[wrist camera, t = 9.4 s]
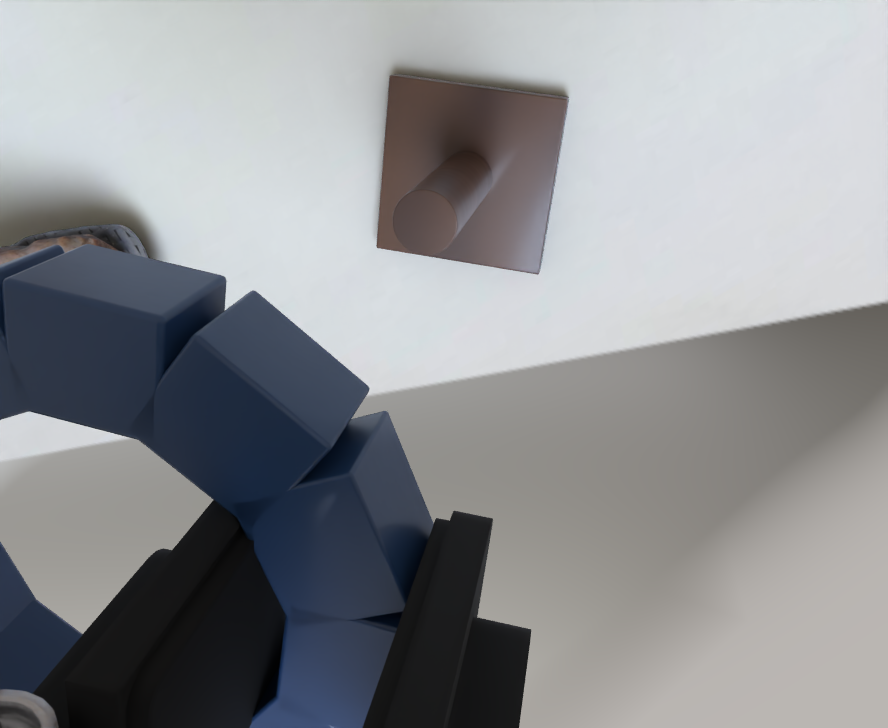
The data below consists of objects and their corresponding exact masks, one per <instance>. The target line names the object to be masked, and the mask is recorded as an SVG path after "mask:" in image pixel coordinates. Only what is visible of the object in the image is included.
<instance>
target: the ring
mask: <svg viewBox="0 0 888 728" xmlns="http://www.w3.org/2000/svg"><path fill="white" fill-rule="evenodd" d="M225 294H226V278H225V277H224V276H222V275H217V274H213V273H209V272H205V271H201V270H196V269H192V268H188V267H184V266H180V265H175V264H171V263H167V262H163V261H158V260H154V259H150V258H146V257H142V256H137V255H133V254H129V253H125V252H121V251H116V250H112V249H108V248H104V247H99V246H95V245H91V244H85V245H82V246H80V247H78V248H75V249H73V250H71V251H68V252H66V253H65V251H64V249H63V248H62V247H61V246H60V245H52V246H50V247H47V248H44V249H41V250H39V251H36V252H33V253H31V254H28V255H25V256H22V257H20V258H17V259H14V260H12V261H9V262H6V263H3V264H1V265H0V420H1V419H4V418H8V417H11V416H14V415H18V414H21V413H25V412H28V411H30V412H34V413H38V414H42V415H46V416H50V417H53V418H57V419H61V420H65V421H69V422H72V423H76V424H80V425H84V426H88V427H92V428H95V429H99V430H103V431H107V432H111V433H114V434H118V435H122V436H126V437H130V438H134V439H137V440H139V441H141V442H142V443H143V444H144V445H146V446H147V447H148V448H150V449H151V450H152V451H153V452H154V453H156V454H157V455H158V456H160V457H161V458H162V459H164V460H165V461H166V462H167V463H168V464H170V465H171V466H172V467H173V468H175V469H176V470H177V471H178V472H180V473H181V474H182V475H184V476H185V477H186V478H187V479H188V480H190V481H191V482H192V483H194V484H195V485H196V486H197V487H198V488H200V489H201V490H202V491H203V492H205V493H206V494H207V495H208V496H210V497H211V498H212V499H213V500H215V501H216V502H217V503H218V504H220V505H221V506H222V507H223V508H225V509H226V510H227V511H229V512H230V513H231V514H232V515H234V516H235V517H236V518H237V519H238V521H239V523H240V525H241V527H242V529H243V531H244V533H245V535H246V537H247V539H249V540H253V541H254V553H255V555H256V557H257V559H258V561H259V563H260V565H261V567H262V569H263V571H264V573H265V575H266V577H267V579H268V581H269V583H270V585H271V587H272V589H273V591H274V593H275V595H276V597H277V599H278V601H279V603H280V605H281V607H282V609H283V611H284V613H285V623H284V632H283V641H282V649H281V658H280V664H279V665H278V667H277V669H276V671H275V673H274V675H273V677H272V679H271V681H270V683H269V685H268V687H267V689H266V691H265V693H264V695H263V697H262V699H261V701H260V703H259V705H258V706H257V708H256V710H255V712H254V714H253V717H252V723H251V725H250V727H249V728H363V725H364V722H365V719H366V716H367V713H368V710H369V707H370V705H371V702H372V699H373V696H374V693H375V690H376V687H377V685H378V682H379V679H380V676H381V673H382V670H383V667H384V665H385V662H386V659H387V656H388V653H389V650H390V647H391V645H392V642H393V639H394V636H395V633H396V630H397V628H398V625H399V622H400V619H401V616H402V613H403V610H404V608H405V605H406V602H407V599H408V596H409V593H410V590H411V588H412V585H413V582H414V579H415V576H416V573H417V570H418V568H419V565H420V562H421V559H422V556H423V553H424V551H425V548H426V545H427V542H428V539H429V536H430V533H431V531H432V528H433V525H434V524H433V521H432V519H431V516H430V514H429V511H428V509H427V507H426V504H425V502H424V499H423V497H422V494H421V492H420V490H419V487H418V485H417V482H416V480H415V477H414V475H413V472H412V470H411V468H410V465H409V463H408V460H407V458H406V455H405V453H404V450H403V448H402V446H401V443H400V441H399V438H398V436H397V433H396V431H395V428H394V426H393V424H392V421H391V419H390V416H389V414H388V412H387V411H382V412H378V413H374V414H370V415H366V416H362V417H358V418H354V419H351V418H352V417H353V415H354V414H355V412H356V410H357V409H358V407H359V406H360V404H361V403H362V401H363V400H364V398H365V397H366V395H367V394H368V392H369V387H368V386H367V385H366V384H365V383H364V382H363V381H361V380H360V379H359V378H358V377H357V376H356V375H354V374H353V373H352V372H351V371H350V370H348V369H347V368H346V367H345V366H344V365H343V364H341V363H340V362H339V361H338V360H337V359H335V358H334V357H333V356H332V355H331V354H330V353H328V352H327V351H326V350H325V349H324V348H322V347H321V346H320V345H319V344H318V343H317V342H315V341H314V340H313V339H312V338H311V337H309V336H308V335H307V334H306V333H305V332H303V331H302V330H301V329H300V328H299V327H298V326H296V325H295V324H294V323H293V322H292V321H290V320H289V319H288V318H287V317H286V316H285V315H283V314H282V313H281V312H280V311H279V310H277V309H276V308H275V307H274V306H273V305H272V304H270V303H269V302H268V301H267V300H266V299H264V298H263V297H262V296H261V295H260V294H259V293H257V292H256V291H251V292H249V293H248V294H246V295H245V296H244V297H242V298H241V299H240V300H238V301H237V302H236V303H234V304H233V305H232V306H231V307H229V308H228V309H227V310H225ZM224 310H225V311H224ZM82 635H83V634H81V633H80V632H79V631H78V630H76V629H75V628H74V627H72V626H71V625H70V624H68V623H67V622H66V621H64V620H63V619H62V618H60V617H59V616H57V615H56V614H55V613H54V612H52V611H51V610H49V609H48V608H47V607H46V606H44V605H43V604H42V603H40V602H39V601H38V600H36V598H35V597H34V595H33V594H32V592H31V590H30V589H29V587H28V586H27V584H26V582H25V581H24V579H23V577H22V576H21V574H20V573H19V571H18V570H17V568H16V566H15V565H14V563H13V561H12V560H11V558H10V557H9V555H8V553H7V552H6V550H5V548H4V547H3V545H2V544H1V542H0V690H1V689H9V690H20V691H27V692H29V693H31V694H32V693H33V692H34V691H35V690H36V688H37V687H38V686H39V685H40V684H41V683H42V681H43V680H44V679H45V678H46V677H47V676H48V674H49V673H50V672H51V671H52V670H53V669H54V667H55V666H56V665H57V664H58V663H59V662H60V660H61V659H62V658H63V657H64V656H65V655H66V653H67V652H68V651H69V650H70V649H71V648H72V646H73V645H74V644H75V643H76V642H77V641H78V639H79V638H80V637H81V636H82Z"/></svg>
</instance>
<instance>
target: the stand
mask: <svg viewBox="0 0 888 728" xmlns="http://www.w3.org/2000/svg"><path fill="white" fill-rule="evenodd" d="M568 102H569V98H568V97H564V96H556V95H549V94H541V93H534V92H527V91H519V90H512V89H504V88H497V87H489V86H482V85H475V84H467V83H460V82H452V81H445V80H437V79H430V78H423V77H415V76H408V75H400V74H394V75H390V78H389V91H388V104H387V117H386V130H385V143H384V156H383V169H382V182H381V195H380V208H379V221H378V234H377V248H381V249H387V250H393V251H399V252H405V253H411V254H417V255H423V256H429V257H436V258H442V259H448V260H454V261H460V262H466V263H472V264H478V265H484V266H490V267H496V268H502V269H509V270H515V271H521V272H527V273H533V274H539V272H540V269H541V263H542V257H543V251H544V245H545V240H546V234H547V228H548V222H549V216H550V210H551V204H552V198H553V192H554V186H555V180H556V174H557V168H558V162H559V156H560V150H561V144H562V138H563V132H564V126H565V120H566V114H567V108H568Z"/></svg>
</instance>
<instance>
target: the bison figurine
mask: <svg viewBox="0 0 888 728" xmlns="http://www.w3.org/2000/svg"><path fill="white" fill-rule="evenodd" d="M85 244H91V245H95V246H99V247H104V248H108V249H112V250H116V251H121V252H125V253H129V254H133V255H137V256H142V257H146V258H148V255H147V253H146V251H145V249H144V247H143V245H142V243H141V242H140V240H139V238H138V237H137V236H136V235H135V233H134V232H133V231H131V230H130V229H129V228H127V227H125V226H123V225H119V224H109V225H97V226H84V227H78V228H73V229H65V230H56V231H50V232H46V233H42V234H37V235H32V236H29V237H26V238H24V239H22V240H20V241H19V242H17V243H15V244H13V245H11V246H5V247H0V265H1V264H3V263H6V262H9V261H12V260H14V259H17V258H20V257H22V256H25V255H28V254H31V253H33V252H36V251H39V250H41V249H44V248H47V247H50V246H52V245H60V246H61V247H62V248H63V249H64V251H65V253H66V252H68V251H71V250H73V249H75V248H78V247H80V246H82V245H85Z"/></svg>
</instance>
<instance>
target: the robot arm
mask: <svg viewBox="0 0 888 728" xmlns="http://www.w3.org/2000/svg"><path fill="white" fill-rule="evenodd" d="M492 522H493V519H492V518H487V517H482V516H477V515H472V514H468V513H463V512H458V511H453V514H452V516H451V519H450V521H448V520H443V519H438V518H436V520H435V522H434V525H433V528H432V531H431V533H430V536H429V539H428V542H427V545H426V548H425V551H424V553H423V556H422V559H421V562H420V565H419V568H418V570H417V573H416V576H415V579H414V582H413V585H412V588H411V590H410V593H409V596H408V599H407V602H406V605H405V608H404V610H403V613H402V616H401V619H400V622H399V625H398V628H397V630H396V633H395V636H394V639H393V642H392V645H391V647H390V650H389V653H388V656H387V659H386V662H385V665H384V667H383V670H382V673H381V676H380V679H379V682H378V685H377V687H376V690H375V693H374V696H373V699H372V702H371V705H370V707H369V710H368V713H367V716H366V719H365V722H364V725H363V728H519V723H520V715H521V707H522V700H523V692H524V684H525V676H526V669H527V660H528V653H529V645H530V637H531V629H526V628H522V627H518V626H513V625H509V624H504V623H499V622H495V621H490V620H486V619H481V618H477V615H478V608H479V603H480V597H481V590H482V584H483V577H484V572H485V566H486V560H487V554H488V547H489V542H490V535H491V529H492ZM284 623H285V613H284V611H283V609H282V607H281V605H280V603H279V601H278V599H277V597H276V595H275V593H274V591H273V589H272V587H271V585H270V583H269V581H268V579H267V577H266V575H265V573H264V571H263V569H262V567H261V565H260V563H259V561H258V559H257V557H256V555H255V553H254V541H253V540H249V539H247V537H246V535H245V533H244V531H243V529H242V527H241V525H240V523H239V521H238V519H237V518H236V517H235V516H234V515H232V514H231V513H230V512H229V511H227V510H226V509H225V508H223V507H222V506H221V505H220V504H218V503H217V502H216V501H215V500H213V501H212V503H211V504H210V505H209V506H208V508H207V509H206V510H205V511H204V512H203V514H202V515H201V516H200V517H199V519H198V520H197V521H196V522H195V523H194V525H193V526H192V527H191V528H190V529H189V531H188V532H187V533H186V534H185V535H184V537H183V538H182V539H181V540H180V541H179V543H178V544H177V545H176V546H175V547H174V549H173V550H168V549H160V550H158V551H156V552H155V553H153V555H151V556H150V557H149V558H148V559H147V560H146V561H145V563H144V564H143V565H142V566H141V567H140V569H139V570H138V571H137V572H136V573H135V574H134V575H133V577H132V578H131V579H130V580H129V581H128V582H127V584H126V585H125V586H124V587H123V588H122V589H121V591H120V592H119V593H118V594H117V595H116V596H115V598H114V599H113V600H112V601H111V602H110V603H109V605H108V606H107V607H106V608H105V609H104V610H103V612H102V613H101V614H100V615H99V616H98V618H97V619H96V620H95V621H94V622H93V623H92V625H91V626H90V627H89V628H88V629H87V630H86V631H85V632H84V634H83V635H82V636H81V637H80V638H79V639H78V641H77V642H76V643H75V644H74V645H73V646H72V648H71V649H70V650H69V651H68V652H67V653H66V655H65V656H64V657H63V658H62V659H61V660H60V662H59V663H58V664H57V665H56V666H55V667H54V669H53V670H52V671H51V672H50V673H49V674H48V676H47V677H46V678H45V679H44V680H43V681H42V683H41V684H40V685H39V686H38V687H37V688H36V690H35V691H34V692H33V693H32V694H31V693H29V692H27V691H20V690H9V689H1V690H0V728H249V727H250V725H251V723H252V717H253V714H254V712H255V710H256V708H257V706H258V705H259V703H260V701H261V699H262V697H263V695H264V693H265V691H266V689H267V687H268V685H269V683H270V681H271V679H272V677H273V675H274V673H275V671H276V669H277V667H278V665H279V664H280V658H281V649H282V641H283V632H284Z"/></svg>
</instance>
